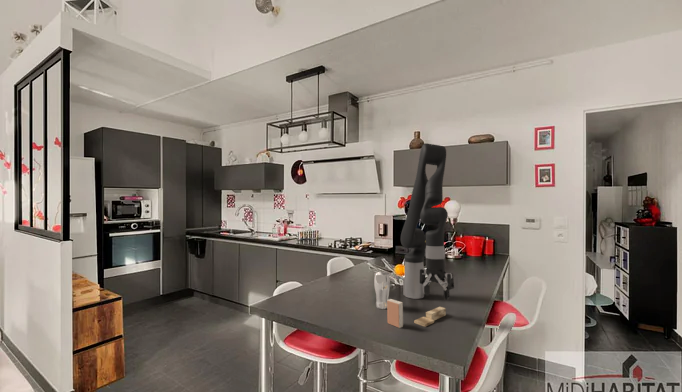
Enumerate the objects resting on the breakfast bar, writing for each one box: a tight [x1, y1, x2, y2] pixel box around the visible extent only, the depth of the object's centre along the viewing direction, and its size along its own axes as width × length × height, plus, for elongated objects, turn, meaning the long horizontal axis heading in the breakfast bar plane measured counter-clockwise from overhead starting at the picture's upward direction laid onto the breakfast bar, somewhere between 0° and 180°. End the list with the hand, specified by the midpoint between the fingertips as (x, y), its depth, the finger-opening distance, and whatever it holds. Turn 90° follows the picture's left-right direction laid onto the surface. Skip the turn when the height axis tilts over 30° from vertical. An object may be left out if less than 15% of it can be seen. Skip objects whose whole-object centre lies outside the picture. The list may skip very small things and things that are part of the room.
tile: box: [386, 298, 404, 329], centre depth 118 cm, size 6×2×9 cm, turn 39°
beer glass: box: [373, 271, 391, 310], centre depth 139 cm, size 7×7×15 cm
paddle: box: [413, 306, 447, 327], centre depth 123 cm, size 16×5×3 cm, turn 130°
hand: (436, 297), depth 124 cm, fingers open, 8 cm apart
